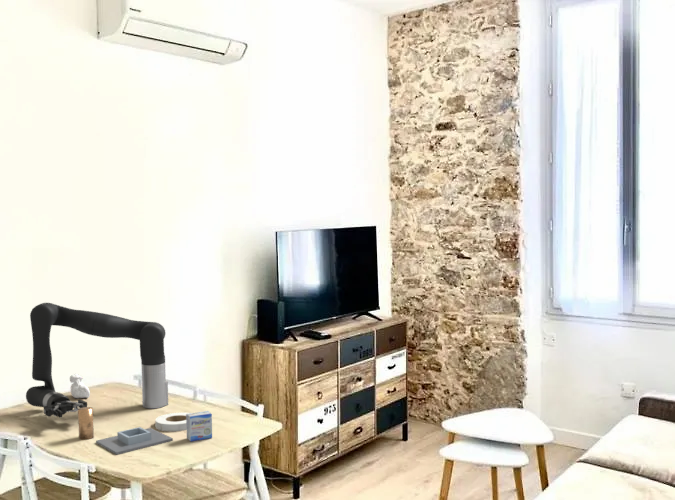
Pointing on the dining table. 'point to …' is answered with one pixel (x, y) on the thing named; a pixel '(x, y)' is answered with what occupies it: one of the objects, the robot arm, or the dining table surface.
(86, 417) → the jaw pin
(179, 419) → the roll of tape
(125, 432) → the housing
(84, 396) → the duck figurine
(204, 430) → the medicine box
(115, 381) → the dining table surface
